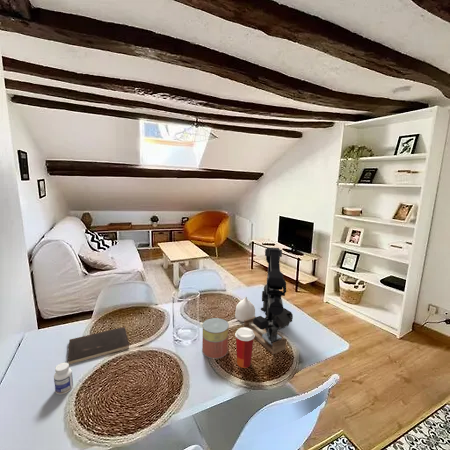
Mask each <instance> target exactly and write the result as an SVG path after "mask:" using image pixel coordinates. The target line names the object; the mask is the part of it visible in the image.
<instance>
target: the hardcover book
mask: <svg viewBox="0 0 450 450" xmlns="http://www.w3.org/2000/svg"><path fill="white" fill-rule="evenodd" d="M127 334H128V333H127V330H126V327H125V326H122V327H118V328H114V329H110V330H105V331H100V332H97V333H91V334H88V335H83V336H80V337H75V338H69V342H68V351H67V352H68V354H67V362H66V363H68V364H69V365H71V364H75V363H80V362H83V361H86V360H89V359H94V358H98V357H101V356H104V355H108V354H112V353H116V352H120V351H123V350H127V349H130V342H129V338H128V335H127Z"/></svg>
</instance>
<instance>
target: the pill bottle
mask: <svg viewBox="0 0 450 450" xmlns="http://www.w3.org/2000/svg"><path fill="white" fill-rule="evenodd" d="M73 378H74V377H73V371H72V368H70V364H69V363H68V362H61V363H59V364H57V365H56V366H55V373H54V375H53V382H54V391H55V393H56V394H57V395H65V394H67V393H68V392H70V391H71V390H72V389H73V388H74V381H73Z"/></svg>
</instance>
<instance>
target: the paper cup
mask: <svg viewBox="0 0 450 450" xmlns="http://www.w3.org/2000/svg"><path fill="white" fill-rule="evenodd" d="M234 336H235V338H236V339H235V343H236V344H235V345H236V347H235V348H236V365H237V366H238V367H239V368H241V369H248V368H249V367H250V366H251V364H252V356H253V349H254V348H253V347H254V339H255V338H254V337H255V335H254V333H253V331H252V330H251V329H249V328H245V327H244V326H243V327H239V328H238V329H237V330H236V332H235V334H234Z"/></svg>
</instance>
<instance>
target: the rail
mask: <svg viewBox="0 0 450 450" xmlns="http://www.w3.org/2000/svg"><path fill="white" fill-rule="evenodd" d="M255 317H256V316H255ZM255 317H252V318H249V319H246V320H244V322H243V327H245V328H249V329H251V330H252V331H253V333H254V335H255V337H254V339H255V340H256V341H257V342H258V343H259V344H261V345H262V346H263V347H264V348H265V349H267V351H269V352H270V353H271V354H273V355H274V354H277V353H280V352H282V351H284V350H286V347H287V345H286V344H287V339H286V338H285V337H284V338H282V340H279V341H277V342H274V343H273V345H272V346H271V345H270V344H269V343H267V342H266V341H265V340H264V338H263V337H262V335H263V334H265V333H267V332H266V330H265V329H260V328H258V327H257V326H256V325H255V324H253V319H254V318H255Z"/></svg>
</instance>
